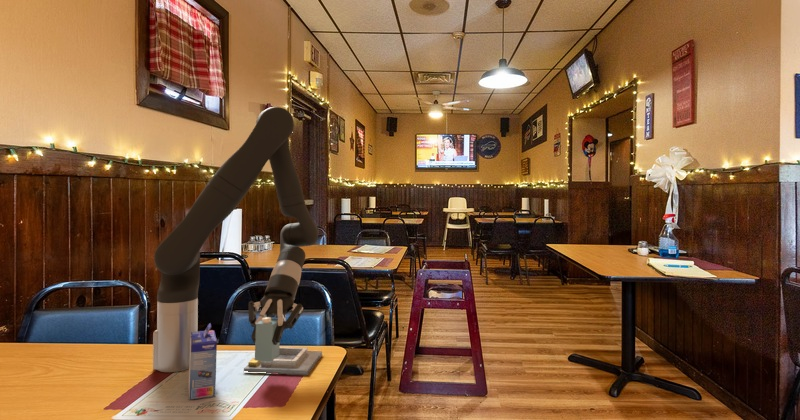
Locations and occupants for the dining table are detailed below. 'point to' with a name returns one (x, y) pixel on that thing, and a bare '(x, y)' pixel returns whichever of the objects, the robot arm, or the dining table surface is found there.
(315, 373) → the dining table surface
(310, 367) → the plate
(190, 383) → the ink cartridge box
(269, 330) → the servo
